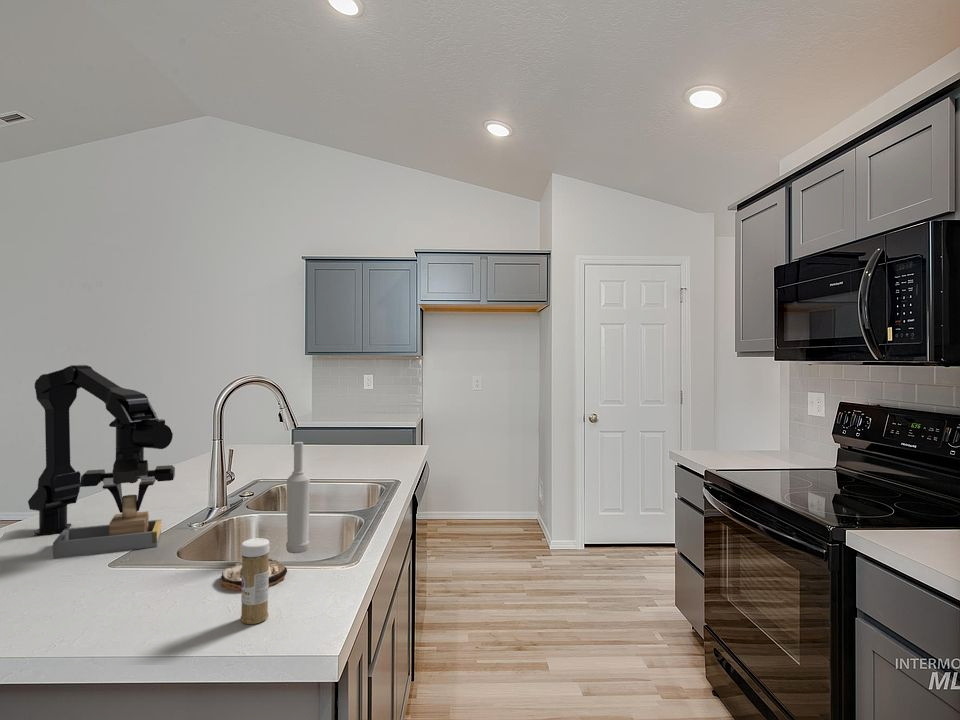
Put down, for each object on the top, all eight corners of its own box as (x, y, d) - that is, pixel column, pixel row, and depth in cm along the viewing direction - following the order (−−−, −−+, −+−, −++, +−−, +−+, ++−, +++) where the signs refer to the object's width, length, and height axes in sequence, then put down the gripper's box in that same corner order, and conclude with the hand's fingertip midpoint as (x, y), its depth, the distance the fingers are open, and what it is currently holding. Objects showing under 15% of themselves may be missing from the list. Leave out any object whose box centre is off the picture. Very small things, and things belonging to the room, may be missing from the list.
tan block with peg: (114, 534, 140) (115, 493, 140) (148, 531, 143) (148, 491, 143) (109, 545, 132) (109, 501, 132) (144, 541, 135) (144, 498, 135)
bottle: (314, 548, 135) (314, 441, 135) (298, 555, 131) (299, 444, 130) (297, 544, 138) (297, 440, 137) (281, 551, 133) (281, 443, 133)
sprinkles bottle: (235, 619, 99) (236, 541, 99) (260, 610, 103) (260, 535, 103) (249, 628, 96) (249, 547, 96) (274, 618, 100) (274, 541, 100)
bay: (64, 543, 137) (65, 528, 137) (161, 533, 145) (161, 519, 145) (52, 558, 127) (52, 542, 127) (156, 546, 135) (156, 531, 135)
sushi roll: (298, 588, 114) (298, 567, 114) (215, 601, 107) (215, 579, 107) (288, 563, 127) (288, 544, 127) (213, 573, 121) (213, 554, 121)
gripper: (74, 454, 126) (74, 525, 126) (171, 449, 134) (171, 516, 134) (85, 446, 136) (85, 512, 136) (175, 442, 144) (174, 504, 144)
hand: (129, 511), depth 137 cm, fingers closed on tan block with peg, 3 cm apart
